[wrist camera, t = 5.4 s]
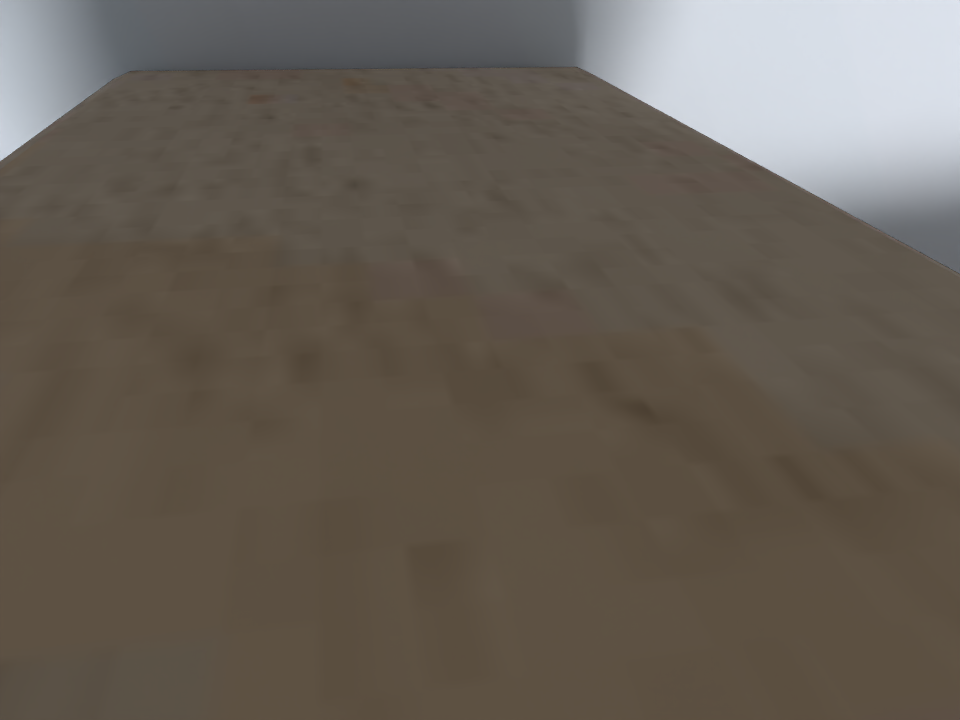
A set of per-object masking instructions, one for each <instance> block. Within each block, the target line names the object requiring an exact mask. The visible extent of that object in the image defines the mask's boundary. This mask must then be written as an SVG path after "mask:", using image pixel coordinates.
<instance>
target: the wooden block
mask: <svg viewBox="0 0 960 720" xmlns="http://www.w3.org/2000/svg"><path fill="white" fill-rule="evenodd" d="M0 720H960V274H959V273H957V272H955V271H953V270H952V269H950V268H948V267H946V266H944V265H942V264H941V263H939V262H937V261H935V260H933V259H931V258H929V257H928V256H926V255H924V254H922V253H920V252H918V251H917V250H915V249H913V248H911V247H909V246H907V245H906V244H904V243H902V242H900V241H898V240H896V239H895V238H893V237H891V236H889V235H887V234H885V233H883V232H882V231H880V230H878V229H876V228H874V227H872V226H871V225H869V224H867V223H865V222H863V221H861V220H860V219H858V218H856V217H854V216H852V215H850V214H849V213H847V212H845V211H843V210H841V209H839V208H837V207H836V206H834V205H832V204H830V203H828V202H826V201H825V200H823V199H821V198H819V197H817V196H815V195H814V194H812V193H810V192H808V191H806V190H804V189H803V188H801V187H799V186H797V185H795V184H793V183H791V182H790V181H788V180H786V179H784V178H782V177H780V176H779V175H777V174H775V173H773V172H771V171H769V170H768V169H766V168H764V167H762V166H760V165H758V164H757V163H755V162H753V161H751V160H749V159H747V158H745V157H744V156H742V155H740V154H738V153H736V152H734V151H733V150H731V149H729V148H727V147H725V146H723V145H722V144H720V143H718V142H716V141H714V140H712V139H711V138H709V137H707V136H705V135H703V134H701V133H699V132H698V131H696V130H694V129H692V128H690V127H688V126H687V125H685V124H683V123H681V122H679V121H677V120H676V119H674V118H672V117H670V116H668V115H666V114H665V113H663V112H661V111H659V110H657V109H655V108H653V107H652V106H650V105H648V104H646V103H644V102H642V101H641V100H639V99H637V98H635V97H633V96H631V95H630V94H628V93H626V92H624V91H622V90H620V89H619V88H617V87H615V86H613V85H611V84H609V83H607V82H606V81H604V80H602V79H600V78H598V77H596V76H595V75H593V74H591V73H589V72H586V71H584V70H582V69H580V68H578V67H519V68H410V69H301V70H192V71H130V72H128V73H126V74H124V75H121V76H119V77H117V78H115V79H113V80H112V81H110V82H109V83H107V84H106V85H105V86H103V87H102V88H101V89H99V90H98V91H96V92H95V93H94V94H92V95H91V96H90V97H88V98H87V99H85V100H84V101H83V102H81V103H80V104H79V105H77V106H76V107H74V108H73V109H72V110H70V111H69V112H68V113H66V114H65V115H63V116H62V117H61V118H59V119H58V120H57V121H55V122H54V123H52V124H51V125H50V126H48V127H47V128H46V129H44V130H43V131H41V132H40V133H39V134H37V135H36V136H35V137H33V138H32V139H30V140H29V141H28V142H26V143H25V144H24V145H22V146H21V147H19V148H18V149H17V150H15V151H14V152H13V153H11V154H10V155H8V156H7V157H6V158H4V159H3V160H2V161H0Z"/></svg>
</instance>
